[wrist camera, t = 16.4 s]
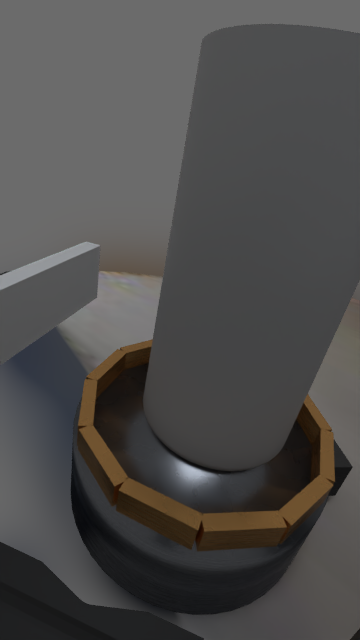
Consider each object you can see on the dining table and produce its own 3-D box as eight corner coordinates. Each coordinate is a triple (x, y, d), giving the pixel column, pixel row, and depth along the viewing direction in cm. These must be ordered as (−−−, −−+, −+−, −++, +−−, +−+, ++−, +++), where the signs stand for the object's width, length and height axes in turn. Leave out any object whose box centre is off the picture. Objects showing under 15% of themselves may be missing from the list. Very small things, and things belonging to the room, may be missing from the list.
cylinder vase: (113, 431, 26) (162, 11, 14) (175, 355, 37) (233, 77, 25) (272, 507, 23) (501, 44, 11) (290, 400, 33) (418, 105, 22)
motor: (275, 402, 44) (299, 344, 40) (382, 596, 26) (446, 527, 22) (83, 395, 39) (87, 328, 35) (49, 631, 21) (48, 550, 17)
